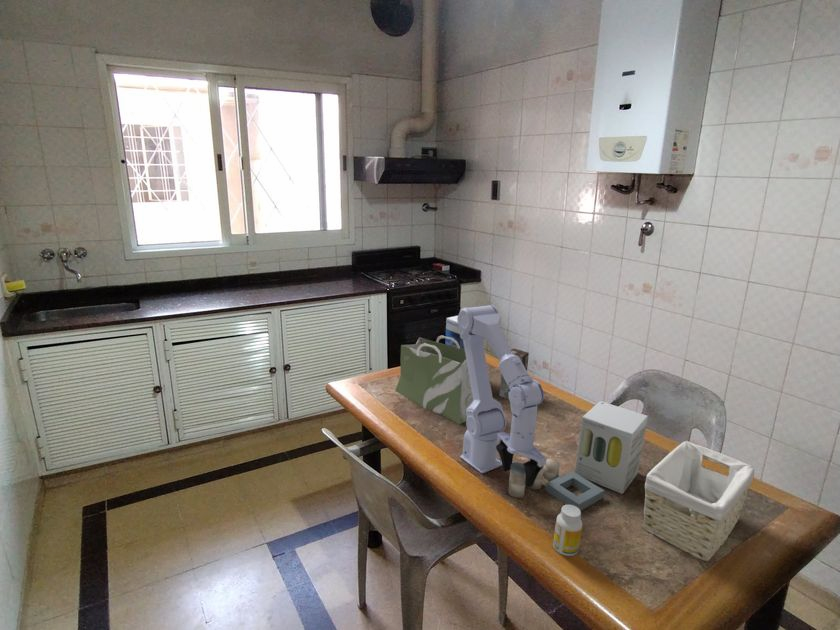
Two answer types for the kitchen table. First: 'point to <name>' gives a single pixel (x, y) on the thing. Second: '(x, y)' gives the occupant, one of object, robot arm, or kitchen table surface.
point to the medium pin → (538, 480)
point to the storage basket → (695, 499)
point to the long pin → (517, 480)
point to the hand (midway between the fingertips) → (517, 477)
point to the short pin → (551, 469)
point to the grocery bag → (436, 378)
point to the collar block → (571, 478)
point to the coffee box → (503, 385)
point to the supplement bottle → (568, 530)
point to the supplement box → (610, 446)
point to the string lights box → (453, 332)
